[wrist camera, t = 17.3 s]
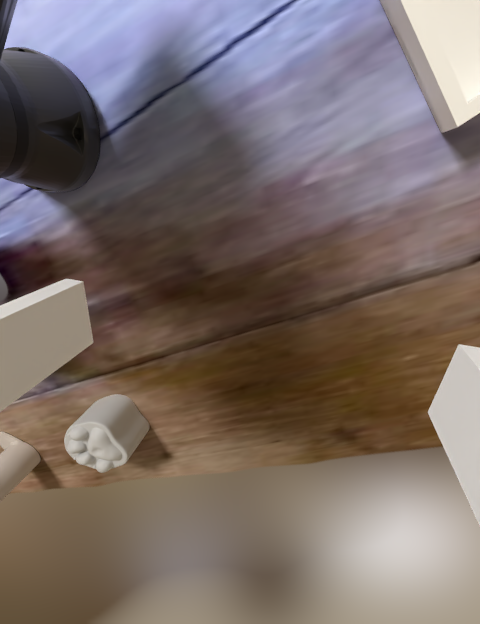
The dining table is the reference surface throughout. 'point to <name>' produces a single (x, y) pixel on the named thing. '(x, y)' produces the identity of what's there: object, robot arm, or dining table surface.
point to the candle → (15, 462)
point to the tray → (441, 54)
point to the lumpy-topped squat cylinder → (106, 433)
